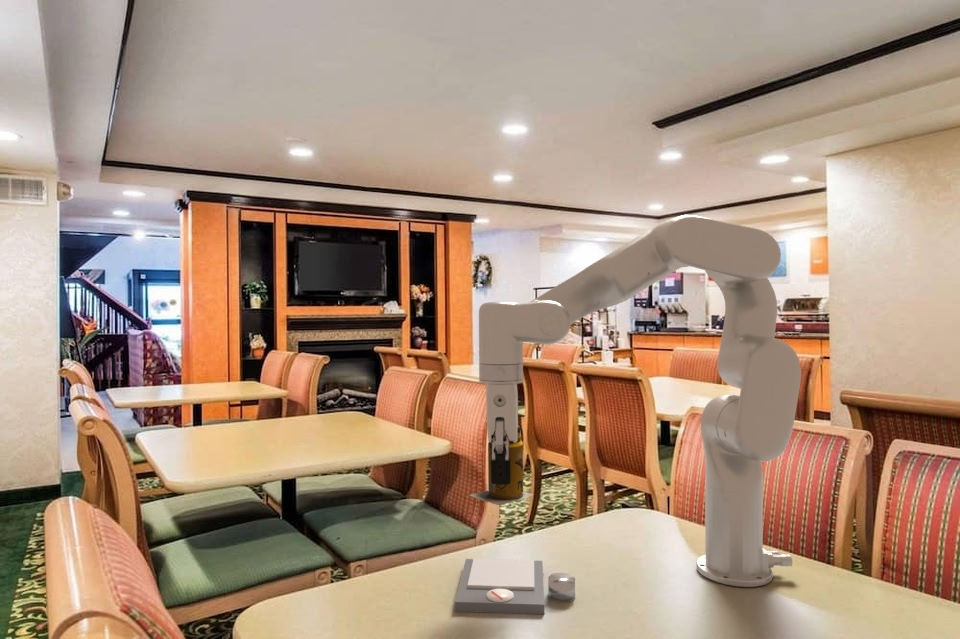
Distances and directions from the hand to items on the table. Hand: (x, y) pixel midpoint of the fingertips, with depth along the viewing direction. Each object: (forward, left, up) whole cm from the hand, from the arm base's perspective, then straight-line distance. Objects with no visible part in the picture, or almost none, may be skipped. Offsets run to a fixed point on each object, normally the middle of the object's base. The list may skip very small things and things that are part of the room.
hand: (501, 477), depth 109 cm
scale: (0, +2, -18) cm, 19 cm away
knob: (-10, +4, -19) cm, 21 cm away
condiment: (0, +1, -3) cm, 3 cm away
